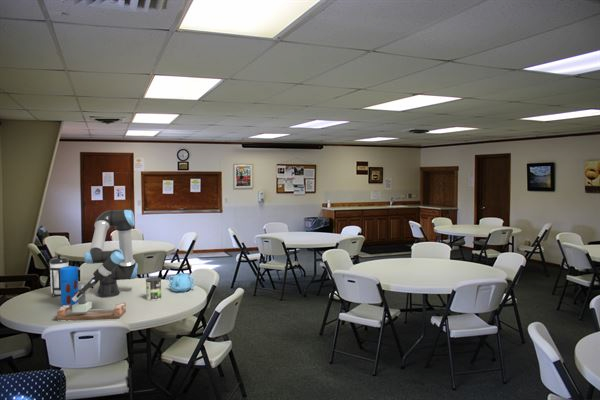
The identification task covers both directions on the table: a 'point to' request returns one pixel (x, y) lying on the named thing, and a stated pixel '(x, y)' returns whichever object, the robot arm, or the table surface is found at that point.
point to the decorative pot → (181, 282)
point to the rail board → (92, 317)
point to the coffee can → (153, 289)
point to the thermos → (68, 284)
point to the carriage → (82, 302)
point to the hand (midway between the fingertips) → (77, 297)
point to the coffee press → (56, 273)
